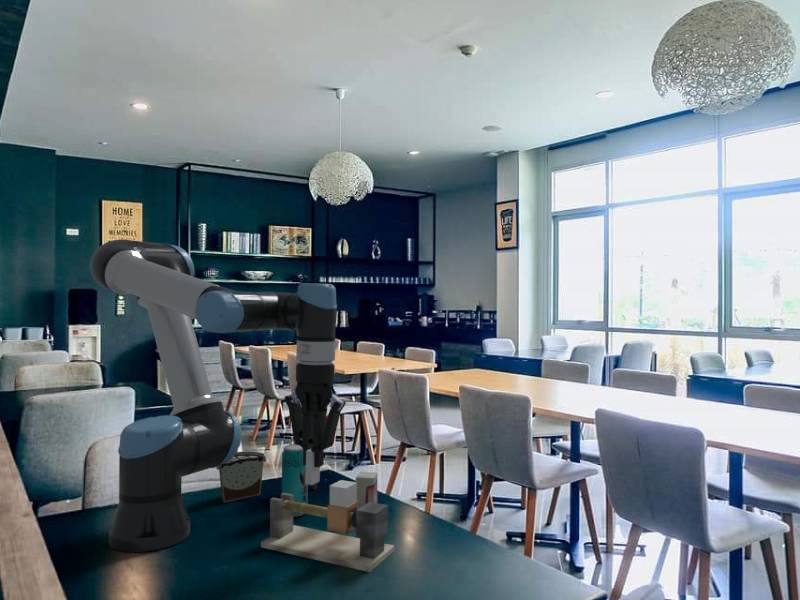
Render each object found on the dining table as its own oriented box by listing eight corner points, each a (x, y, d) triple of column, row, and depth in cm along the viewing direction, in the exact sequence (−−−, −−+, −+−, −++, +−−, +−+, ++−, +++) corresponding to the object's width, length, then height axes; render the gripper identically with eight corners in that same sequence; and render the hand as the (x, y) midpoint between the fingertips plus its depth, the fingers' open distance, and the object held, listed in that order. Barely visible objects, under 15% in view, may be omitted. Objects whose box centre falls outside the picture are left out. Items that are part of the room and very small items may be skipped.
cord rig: (260, 547, 115) (261, 498, 115) (291, 529, 124) (291, 484, 124) (369, 572, 105) (370, 518, 105) (394, 550, 114) (394, 501, 114)
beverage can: (302, 519, 130) (302, 450, 130) (277, 516, 131) (277, 449, 131) (311, 510, 136) (311, 444, 136) (287, 508, 137) (287, 443, 137)
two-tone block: (327, 530, 112) (327, 486, 112) (340, 522, 116) (341, 479, 116) (345, 534, 110) (346, 489, 110) (358, 525, 114) (358, 482, 114)
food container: (254, 487, 152) (254, 448, 152) (265, 493, 147) (266, 453, 147) (207, 497, 144) (208, 456, 144) (217, 504, 139) (218, 461, 139)
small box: (373, 513, 134) (374, 478, 134) (355, 512, 135) (355, 477, 135) (377, 505, 139) (377, 471, 139) (359, 504, 140) (359, 471, 140)
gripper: (276, 361, 115) (273, 482, 115) (333, 366, 110) (330, 493, 110) (299, 358, 122) (296, 472, 122) (354, 362, 116) (351, 482, 117)
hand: (312, 482), depth 116 cm, fingers closed
